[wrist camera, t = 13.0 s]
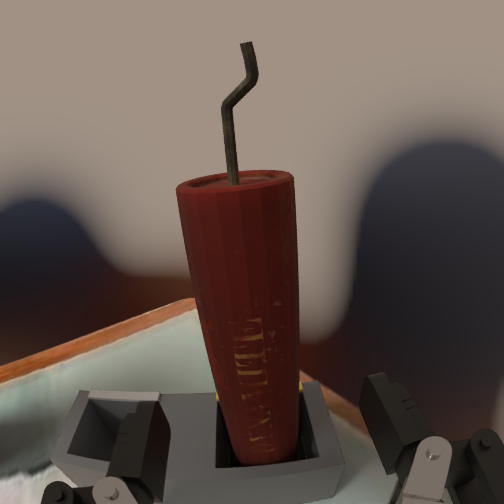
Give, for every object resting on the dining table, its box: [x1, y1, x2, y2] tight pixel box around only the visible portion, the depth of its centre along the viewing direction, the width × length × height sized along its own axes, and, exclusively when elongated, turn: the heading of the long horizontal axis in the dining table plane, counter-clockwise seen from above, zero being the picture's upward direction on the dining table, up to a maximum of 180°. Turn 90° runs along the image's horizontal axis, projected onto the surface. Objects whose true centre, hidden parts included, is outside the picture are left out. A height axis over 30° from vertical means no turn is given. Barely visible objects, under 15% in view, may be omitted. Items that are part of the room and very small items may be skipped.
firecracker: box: [176, 42, 299, 467], centre depth 16 cm, size 5×5×30 cm
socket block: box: [50, 381, 345, 504], centre depth 20 cm, size 22×9×7 cm, turn 93°
